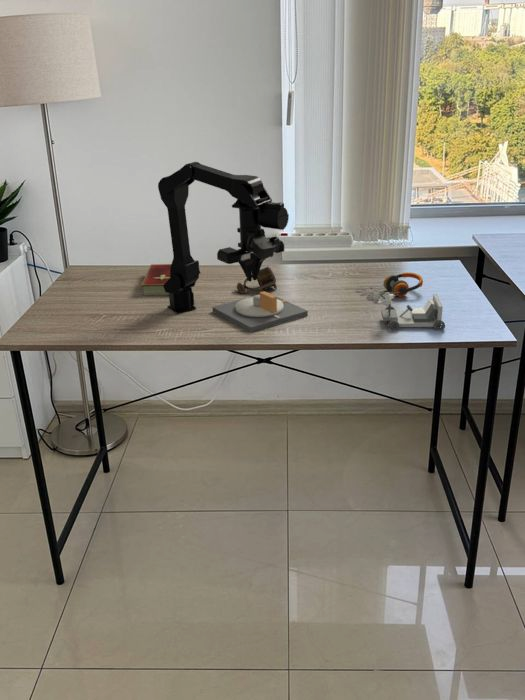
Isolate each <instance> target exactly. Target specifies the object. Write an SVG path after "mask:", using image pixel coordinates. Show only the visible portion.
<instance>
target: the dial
mask: <svg viewBox="0 0 525 700" xmlns="http://www.w3.org/2000/svg"><path fill="white" fill-rule="evenodd" d="M269 293H270V292H268V293H267V291H264V290H263V291H260V292H259V294H260V295H259V294H255V295H252V296H253V297H252V296H250V297H251V298H248V297H245V298H246V299H244V298H242V299H243V300H241V299H239V300H240V301H239V302H237V303H236V311H237V312H238V313H239V314H241V315H244V316H249V317H267V316H272V315H276V314H278V313H280V312H281V311H282V310H283V308H284V307H283V302H282V301H280V300H278V299H277V297H278V296H276V295H275V294H272V293H270V294H269ZM271 294H272V295H271Z"/></svg>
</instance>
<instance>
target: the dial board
mask: <svg viewBox="0 0 525 700" xmlns="http://www.w3.org/2000/svg"><path fill="white" fill-rule="evenodd" d="M266 292H267V291H266ZM267 293H269V294H271V295H273V294H272V293H270V292H267ZM258 295H260V293H259V294H258ZM253 296H254V295H252V296H248V297H245V298H242V299H237V300H234V301H229V302H227V303H223V304H219V305H215V306H214V305H213V306H212V313H215V314H216V315H218V316H220V317H221V318H224V319H225V320H227V321H229V322H231V323H233V324H235V325H237V326H238V327H240V328H242V329H244V330H245V331H248V332H250V333H253V332H257V331H261V330H264V329H267V328H271V327H274V326H276V325H277V326H278V325H280V324H283V323H287V322H291V321H295V320H298V319H301V318H304V317H308V315H309V313H308V312H309V311H308V310H307V309H305V308H302V307H300V306H299V305H296V304H295V303H292V302H289V301H288V300H285V299H283V298H281V297H279V296H276V297H277V299H278V300H280V301H282V302H283V307H284V308H283V310H282V311H281V312H280V313H278V314H276V315H272V316H267V317H249V316H244V315H241V314H239V313H238V312H237V311H236V303H237V302H239V301H240V300H243V299H246V298H251V297H253Z"/></svg>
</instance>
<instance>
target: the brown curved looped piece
mask: <svg viewBox="0 0 525 700" xmlns="http://www.w3.org/2000/svg"><path fill="white" fill-rule="evenodd" d="M252 279H253V277H252ZM256 281H257V284H258V286H257V287H249V286H247V285H246V284H247V282H249V281H248V279H247V277H246V278H245V279H244V281H243V284H242V282H237V285H236V290H237V291H238V292H239V293H242V294H244V293H246V290H247V291H250V292H252V291H253V292H254V291H255V292H257V291H260V290H263V291H264V290H266V289H269V288H272V287H273V289H275V290H277V289H278V287H277V283H276V282H277V280H276V276H275V273H274V272H273V269H272V268H271V267H269V266H266V267H264V268H260V270H259V273H258V276H257V279H256Z"/></svg>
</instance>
